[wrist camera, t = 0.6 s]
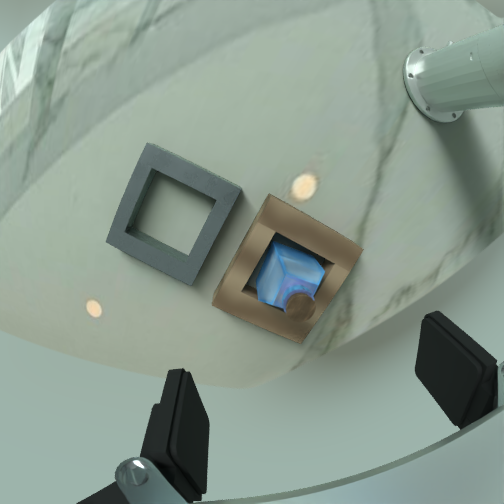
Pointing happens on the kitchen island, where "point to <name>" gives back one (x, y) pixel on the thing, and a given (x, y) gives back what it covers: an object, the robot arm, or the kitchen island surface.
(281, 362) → the kitchen island surface
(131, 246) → the block
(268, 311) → the tan square frame
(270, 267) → the perfume bottle
